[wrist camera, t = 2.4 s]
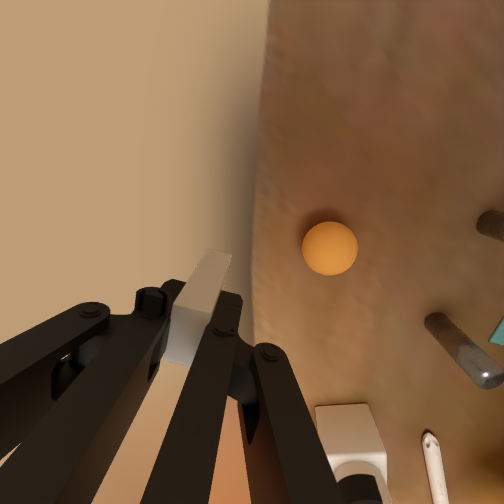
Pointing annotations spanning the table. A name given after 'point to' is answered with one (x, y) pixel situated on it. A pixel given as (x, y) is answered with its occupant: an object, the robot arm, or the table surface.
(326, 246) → the ball
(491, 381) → the post
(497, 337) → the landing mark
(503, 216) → the post
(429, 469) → the marker
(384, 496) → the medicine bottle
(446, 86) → the table surface
